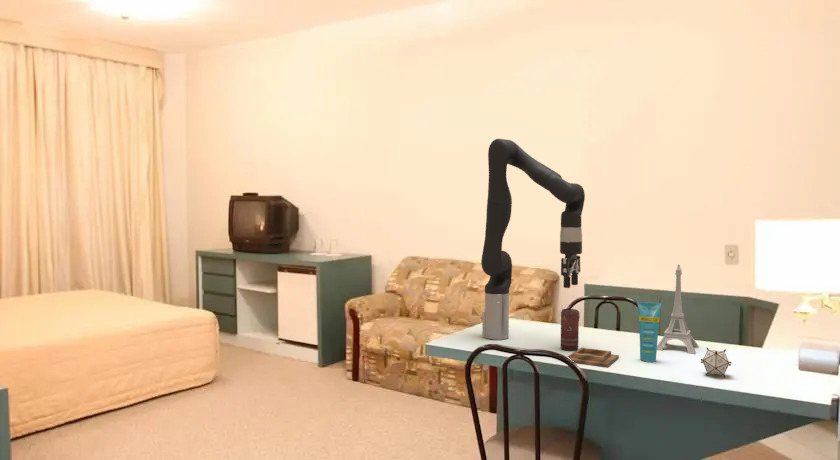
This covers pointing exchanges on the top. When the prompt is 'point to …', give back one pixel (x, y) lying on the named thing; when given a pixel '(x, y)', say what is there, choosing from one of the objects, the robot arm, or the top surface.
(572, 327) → the can
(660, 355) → the top surface
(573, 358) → the coaster plate
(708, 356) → the game die
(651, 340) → the tube
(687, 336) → the eiffel tower
